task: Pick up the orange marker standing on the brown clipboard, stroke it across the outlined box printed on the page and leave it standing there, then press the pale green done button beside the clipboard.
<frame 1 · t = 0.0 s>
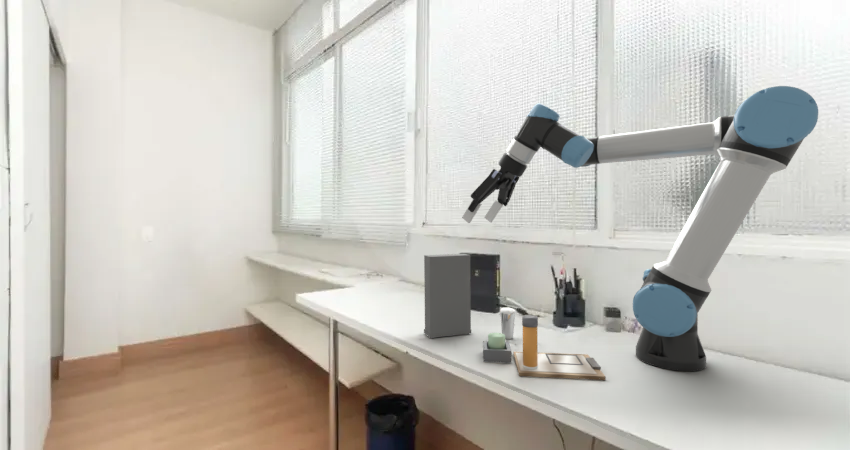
hand: (477, 220, 115), 36 cm above the table, tool tilted 35°, fingers open, 13 cm apart
tall grey upright box: (447, 334, 121), on the table
clipboard: (555, 366, 94), on the table
marker: (530, 366, 92), point 1 cm above the table, touching clipboard
milkshake: (509, 338, 117), on the table
button housing: (496, 357, 101), on the table
done button: (496, 342, 101), point 4 cm above the table, slide at 0.0 cm
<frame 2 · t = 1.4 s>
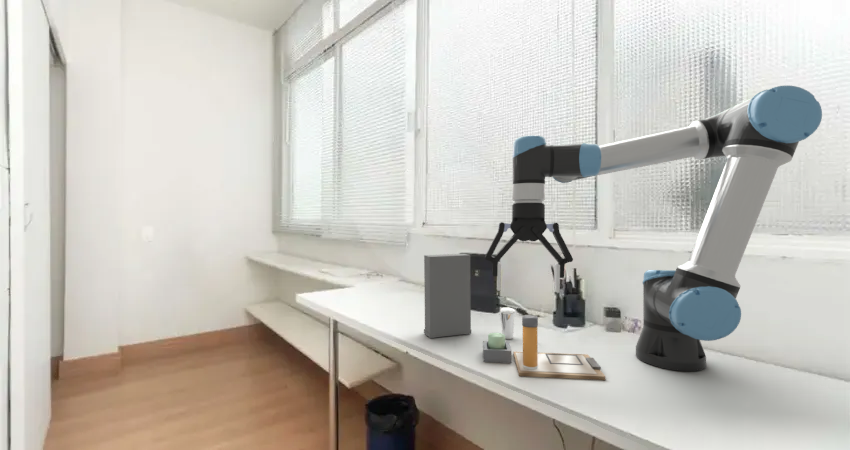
hand: (527, 290, 92), 19 cm above the table, tool pointing down, fingers open, 13 cm apart
nothing on the table moved.
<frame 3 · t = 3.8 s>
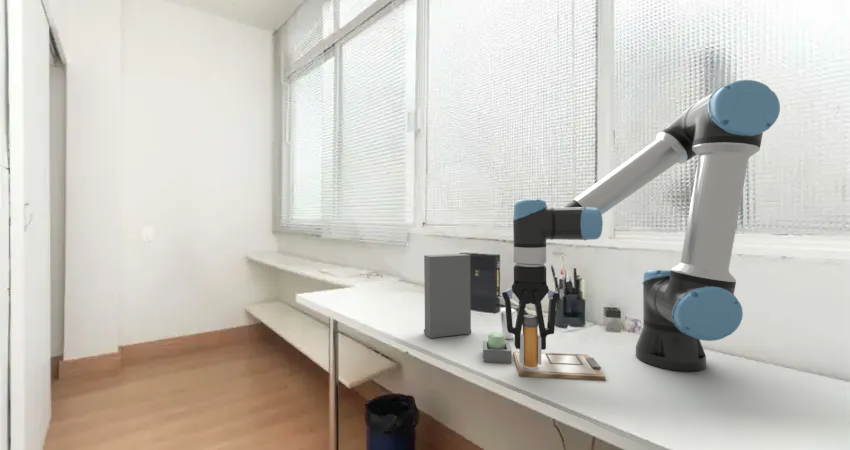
hand: (530, 362, 92), 2 cm above the table, tool pointing down, fingers closed on marker, 3 cm apart
marker: (530, 366, 92), point 1 cm above the table, touching gripper
everything else where it was.
when the fingers open (3 cm above the table, at t = 8.0 s): marker stays where it is, resting on clipboard.
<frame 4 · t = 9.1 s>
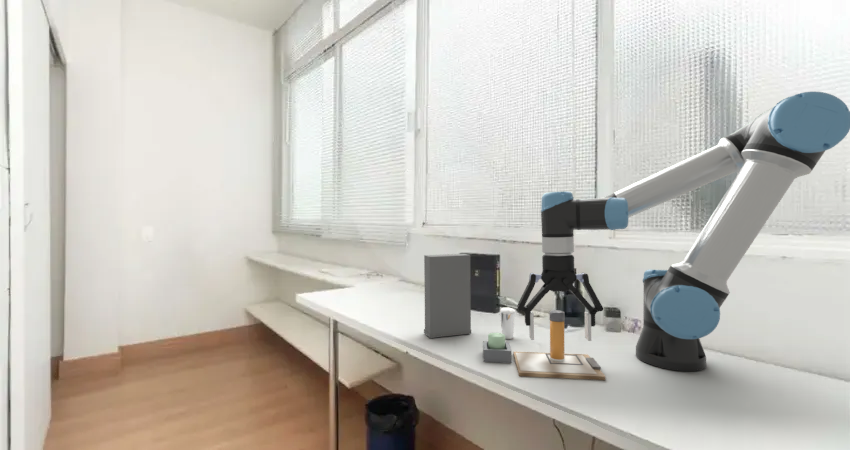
hand: (559, 338, 96), 6 cm above the table, tool pointing down, fingers open, 13 cm apart
marker: (557, 359, 96), point 1 cm above the table, touching clipboard
everything else where it was.
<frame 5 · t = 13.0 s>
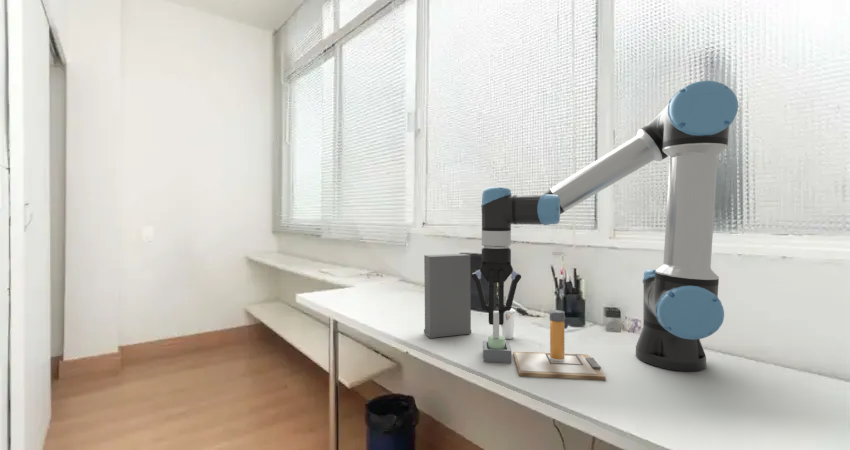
hand: (495, 336, 101), 5 cm above the table, tool pointing down, fingers closed
done button: (496, 345, 101), point 3 cm above the table, slide at 0.6 cm, touching gripper
everything else where it was.
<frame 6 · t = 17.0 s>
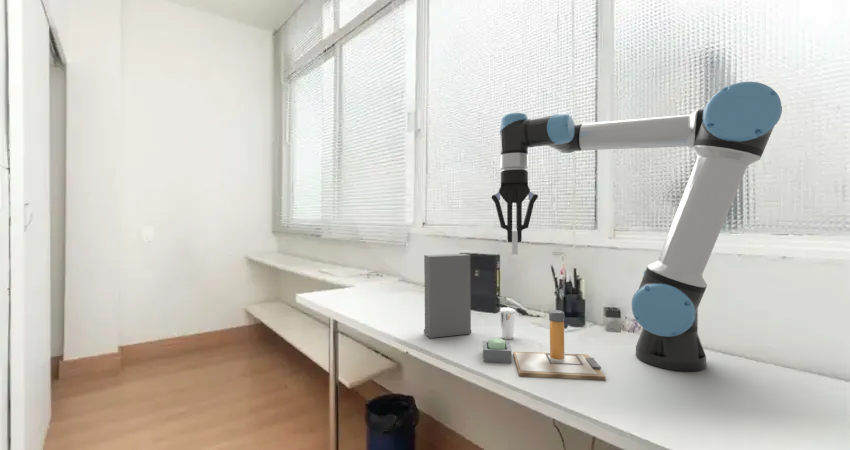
hand: (514, 253, 108), 26 cm above the table, tool pointing down, fingers closed
done button: (496, 348, 101), point 2 cm above the table, slide at 1.5 cm
everything else where it was.
at the end: done button slide at 1.5 cm; marker inside the target area (1.4 cm from its centre), point 0.9 cm above the table; marker tilted 1° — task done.
